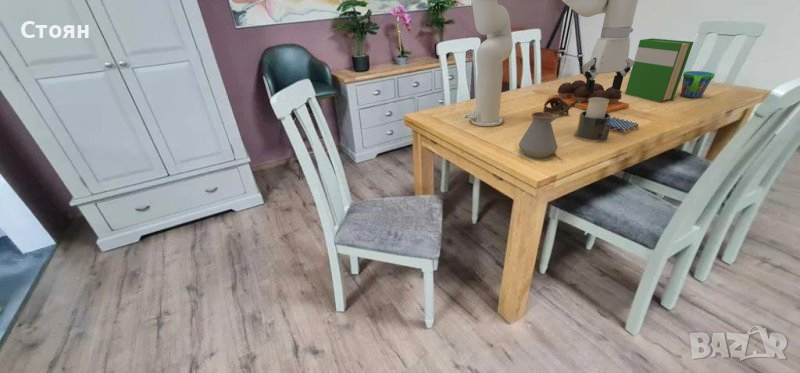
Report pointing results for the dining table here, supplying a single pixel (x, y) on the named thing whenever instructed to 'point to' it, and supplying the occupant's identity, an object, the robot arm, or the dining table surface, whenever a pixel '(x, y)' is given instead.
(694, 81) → the snack cup
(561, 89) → the chocolate cupcake tray
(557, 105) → the broken brown clay pot
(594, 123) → the mug
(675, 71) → the hardback book
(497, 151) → the dining table surface
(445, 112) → the dining table surface
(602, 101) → the paper cup
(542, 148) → the coffee pot
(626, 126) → the woven mat
